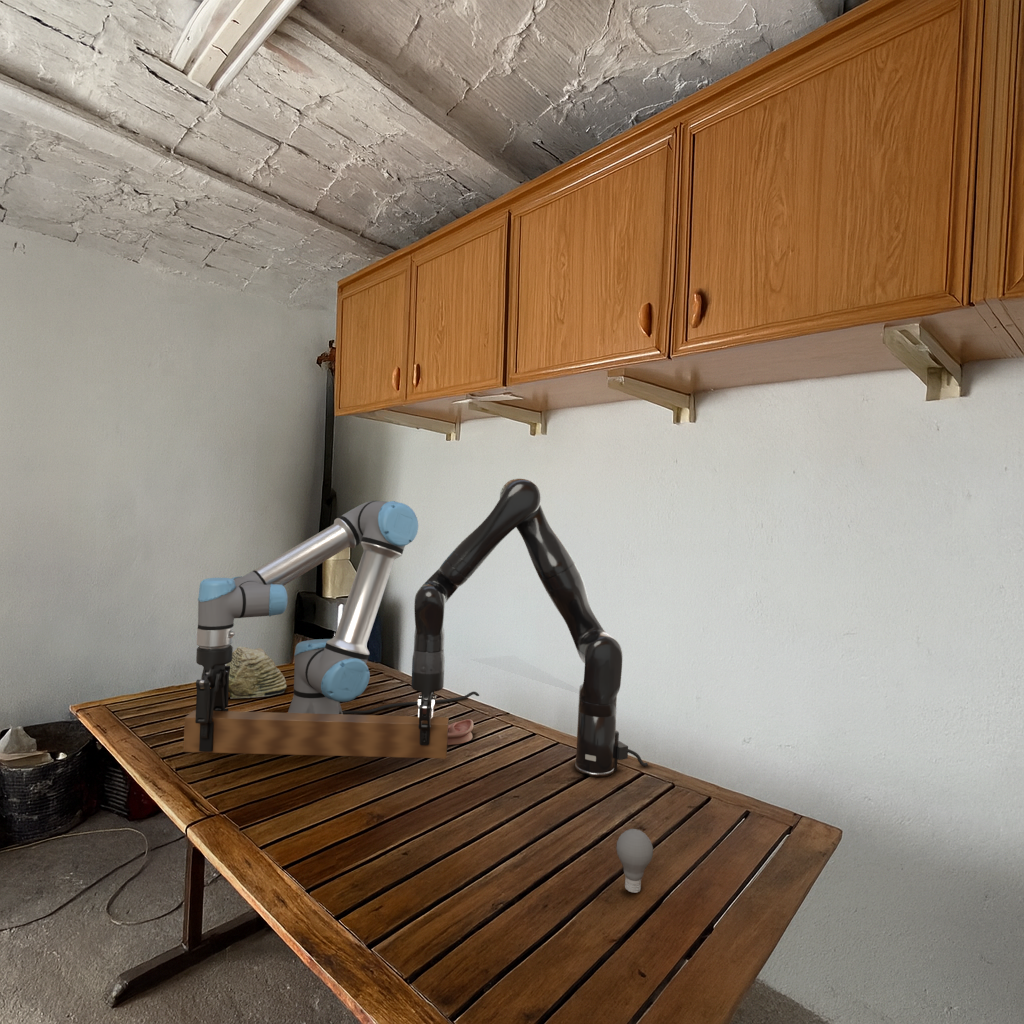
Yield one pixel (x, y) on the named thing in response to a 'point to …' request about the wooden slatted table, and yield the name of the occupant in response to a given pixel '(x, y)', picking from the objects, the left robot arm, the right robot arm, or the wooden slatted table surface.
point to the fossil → (254, 674)
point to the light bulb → (634, 857)
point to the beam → (319, 734)
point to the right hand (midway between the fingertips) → (425, 739)
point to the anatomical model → (460, 732)
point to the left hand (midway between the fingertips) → (211, 745)
